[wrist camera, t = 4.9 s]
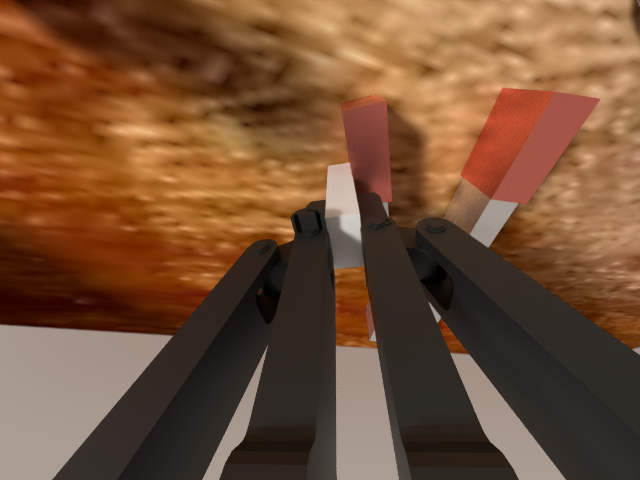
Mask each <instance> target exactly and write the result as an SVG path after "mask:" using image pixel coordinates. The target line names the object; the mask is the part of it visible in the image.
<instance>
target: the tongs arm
mask: <svg viewBox="0 0 640 480" xmlns="http://www.w3.org/2000/svg"><path fill="white" fill-rule="evenodd" d="M341 108H342V115H343V122H344V128H345V135H346V142H347V148H348V155H349V162H350V167H351V174H352V176H353V181H354V187H355V192H356V195H357V194H364V193H371V192H375V193H376V194H378V195H379V196H380V198H381V200H382V203H383V205H384V208H385V211H386V213H387V216H388V217H389V213H388V202H391V201H392V188H391V169H390V151H389V133H388V114H387V100H385V99H383V98H381V97H379V96H377V95H372V96H368V97H364V98H360V99H356V100H352V101H348V102H344V103H341Z"/></svg>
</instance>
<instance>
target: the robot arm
mask: <svg viewBox="0 0 640 480" xmlns="http://www.w3.org/2000/svg"><path fill="white" fill-rule="evenodd" d="M290 218H291V221H292V225H293V229H294V232H295V237H294V240H293V241H291V242H289V243H286V244H283V245H280V246H278V245H277V242H276V241H274V240H271V239H264V240H259V241H257V242H255V243H253V244H252V245H250V246H249V247H248V248H247V249H246V251H245V252H244V253H243V254H242V255H241V256H240V258H239V259H238V260H237V261H236V262H235V264H234V265H233V266H232V267H231V268H230V269H229V271H228V272H227V273H226V274H225V275H224V277H223V278H222V279H221V280H220V281H219V283H218V284H217V285H216V286H215V287H214V288H213V290H212V291H211V292H210V293H209V294H208V296H207V297H206V298H205V299H204V300H203V301H202V303H201V304H200V305H199V306H198V307H197V309H196V310H195V311H194V312H193V313H192V315H191V316H190V317H189V318H188V319H187V320H186V322H185V323H184V324H183V325H182V326H181V328H180V329H179V330H178V331H177V332H176V334H175V335H174V336H173V337H172V338H171V339H170V341H169V342H168V343H167V344H166V345H165V347H164V348H163V349H162V350H161V351H160V353H159V354H158V355H157V356H156V357H155V358H154V360H153V361H152V362H151V363H150V364H149V366H148V367H147V368H146V369H145V370H144V372H143V373H142V374H141V375H140V376H139V378H138V379H137V380H136V381H135V382H134V383H133V384H132V386H131V387H130V388H129V389H128V391H127V392H126V393H125V394H124V395H123V396H122V398H121V399H120V400H119V401H118V402H117V403H116V405H115V406H114V407H113V408H112V410H111V411H110V412H109V413H108V414H107V415H106V417H105V418H104V419H103V420H102V421H101V422H100V424H99V425H98V426H97V427H96V428H95V430H94V431H93V432H92V433H91V434H90V436H89V437H88V438H87V439H86V440H85V441H84V443H83V444H82V445H81V446H80V447H79V449H78V450H77V451H76V452H75V453H74V454H73V456H72V457H71V458H70V459H69V461H68V462H67V463H66V464H65V465H64V466H63V468H62V469H61V470H60V471H59V472H58V473H57V475H56V476H55V477H54V478H53V479H52V480H202V479H203V477H204V475H205V473H206V470H207V469H208V467H209V465H210V462H211V460H212V458H213V456H214V454H215V452H216V450H217V448H218V446H219V444H220V442H221V440H222V438H223V436H224V434H225V432H226V430H227V427H228V426H229V423H230V421H231V419H232V417H233V415H234V413H235V411H236V409H237V407H238V405H239V403H240V401H241V399H242V397H243V395H244V393H245V391H246V388H247V386H248V384H249V382H250V380H251V378H252V376H253V374H254V372H255V370H256V368H257V366H258V364H259V362H260V360H261V358H262V356H263V354H264V351H265V349H266V347H267V345H268V348H267V352H266V356H265V360H264V364H263V368H262V373H261V377H260V381H259V385H258V389H257V393H256V397H255V401H254V406H253V409H252V414H251V418H250V422H249V426H248V429H247V432H246V435H245V437H244V440H243V441H242V442H241V443H240V444H239V445H238V446H237V447H236V448H235V449H234V450H233V451H232V452H231V454H230V456H229V457H228V459H227V461H226V463H225V465H224V468H223V471H222V474H221V477H220V479H219V480H337V475H336V327H335V273H334V268H335V269H340V268H350V267H360V266H365V276H366V286H367V287H368V293H369V299H370V305H371V311H372V318H373V324H374V330H375V336H376V342H377V348H378V354H379V360H380V366H381V372H382V378H383V384H384V390H385V396H386V402H387V409H388V415H389V420H390V426H391V433H392V438H393V445H394V451H395V457H396V463H397V469H398V476H399V480H519V479H518V477H517V476H516V474H515V472H514V470H513V468H512V466H511V465H510V464H509V462H508V460H507V459H506V458H505V456H504V455H503V453H502V452H501V451H500V450H499V449H497V448H496V447H495V446H494V445H493V444H492V443H491V442H490V441H489V440H488V438H487V437H486V435H485V433H484V431H483V429H482V427H481V425H480V423H479V420H478V418H477V416H476V413H475V411H474V409H473V406H472V404H471V401H470V399H469V397H468V394H467V392H466V390H465V387H464V385H463V383H462V380H461V378H460V376H459V373H458V371H457V368H456V366H455V364H454V361H453V359H452V356H451V354H450V352H449V349H448V347H447V345H446V342H445V340H444V338H443V335H442V333H441V330H440V328H439V326H438V323H437V321H436V319H435V316H434V314H433V312H432V309H431V307H430V304H431V305H432V306H433V308H434V309H435V310H436V311H437V313H438V314H439V315H440V317H441V318H442V319H443V321H444V322H445V323H446V324H447V326H448V327H449V328H450V330H451V331H452V332H453V334H454V335H455V336H456V337H457V339H458V340H459V341H460V343H461V344H462V345H463V346H464V348H465V349H466V350H467V352H468V353H469V354H470V356H471V357H472V358H473V359H474V361H475V362H476V363H477V365H478V366H479V367H480V368H481V370H482V371H483V372H484V374H485V375H486V376H487V378H488V379H489V380H490V381H491V383H492V384H493V385H494V387H495V388H496V389H497V390H498V392H499V393H500V394H501V396H502V397H503V398H504V400H505V401H506V402H507V403H508V405H509V406H510V407H511V409H512V410H513V411H514V413H515V414H516V415H517V416H518V418H519V419H520V420H521V422H522V423H523V424H524V426H525V427H526V428H527V429H528V431H529V432H530V433H531V435H532V436H533V437H534V438H535V440H536V441H537V442H538V444H539V445H540V446H541V448H542V449H543V450H544V451H545V453H546V454H547V455H548V456H549V458H550V459H551V461H552V462H553V463H554V464H555V466H556V467H557V468H558V470H559V471H560V472H561V473H562V475H563V476H564V477H565V479H566V480H640V355H639V354H637V353H636V352H635V351H633V350H632V349H630V348H629V347H628V346H626V345H625V344H623V343H622V342H620V341H619V340H618V339H616V338H615V337H613V336H612V335H611V334H609V333H608V332H606V331H605V330H604V329H602V328H601V327H599V326H598V325H597V324H595V323H594V322H592V321H591V320H589V319H588V318H587V317H585V316H584V315H582V314H581V313H580V312H578V311H577V310H575V309H574V308H573V307H571V306H570V305H568V304H567V303H565V302H564V301H563V300H561V299H560V298H558V297H557V296H556V295H554V294H553V293H551V292H550V291H549V290H547V289H546V288H544V287H543V286H542V285H540V284H539V283H537V282H536V281H534V280H533V279H532V278H530V277H529V276H527V275H526V274H525V273H523V272H522V271H520V270H519V269H518V268H516V267H515V266H513V265H512V264H511V263H509V262H508V261H506V260H505V259H503V258H502V257H501V256H499V255H498V254H496V253H495V252H494V251H492V250H491V249H489V248H488V247H487V246H485V245H484V244H482V243H481V242H479V241H478V240H477V239H475V238H474V237H472V236H471V235H470V234H468V233H467V232H465V231H464V230H463V229H461V228H460V227H458V226H457V225H456V224H454V223H453V222H451V221H449V220H446V219H442V218H427V219H424V220H421V221H419V222H418V223H417V225H416V229H415V228H403V227H399V226H396V224H395V222H394V221H393V219H391V218H389V217H388V216H387V213H386V211H385V208H384V205H383V203H382V200H381V198H380V196H379V195H378V194H376V193H375V192H371V193H364V194H357V195H356V192H355V187H354V181H353V176H352V174H351V167H350V162H349V163H343V164H337V165H331V166H328V175H327V193H326V200H320V201H313V202H310V203H309V204H308V205H307V206H306V208H304V209H301V210H298V211H296V212H295V213H293V214H292V216H291V217H290ZM260 288H261V290H260ZM259 290H260V291H259ZM258 292H259V293H258ZM428 301H429V302H430V304H429V302H428ZM268 343H269V344H268Z"/></svg>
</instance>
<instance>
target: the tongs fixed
mask: <svg viewBox="0 0 640 480" xmlns="http://www.w3.org/2000/svg"><path fill="white" fill-rule="evenodd" d="M599 100H600V99H598V98H592V97H585V96H579V95H572V94H566V93H559V92H550V91H536V90H522V89H509V88H503V89H502V91H501V93H500V95H499V97H498V99H497V101H496V103H495V105H494V107H493V109H492V112H491V114H490V116H489V118H488V120H487V122H486V124H485V126H484V128H483V130H482V132H481V134H480V136H479V138H478V141H477V143H476V145H475V147H474V149H473V151H472V153H471V155H470V157H469V159H468V161H467V163H466V165H465V167H464V170H463V172H462V174H461V176H462V177H463V178H462V180H461V182H460V184H459V186H458V188H457V190H456V192H455V194H454V196H453V198H452V200H451V202H450V204H449V206H448V208H447V211H446V213H445V215H444V217H443V219H446V220H449V221H451V222H453V223H454V224H456V225H457V226H458V227H460V228H461V229H463V230H464V231H465V232H467V233H468V234H470V235H471V236H472V237H474V238H475V239H477V240H478V241H479V242H481V243H482V244H484V245H485V246H487V247H489V246H490V244H491V243H492V242H493V240H494V239H495V237H496V236H497V234H498V233H499V231H500V230H501V228H502V227H503V225H504V224H505V222H506V221H507V219H508V218H509V216H510V215H511V213H512V212H513V210H514V209H515V208H516V206H517V205H518V203H520V204H527V203H528V202H529V200H530V199H531V197H532V196H533V195H534V193H535V192H536V190H537V189H538V187H539V186H540V185H541V183H542V182H543V180H544V179H545V177H546V176H547V175H548V173H549V172H550V170H551V169H552V167H553V166H554V165H555V163H556V162H557V160H558V159H559V157H560V156H561V155H562V153H563V152H564V150H565V149H566V148H567V146H568V145H569V143H570V142H571V140H572V139H573V138H574V136H575V135H576V133H577V132H578V130H579V129H580V128H581V126H582V125H583V123H584V122H585V120H586V119H587V118H588V116H589V115H590V113H591V112H592V110H593V109H594V108H595V106H596V105H597V103H598V102H599ZM428 302H429V301H428ZM429 304H430V302H429ZM430 307H431V309H432V312H433V314H434V316H435V319H436V321H437V323H438V321H439V320H440V318H441V317H440V315H439V314H438V313H437V311H436V310H435V309H434V308H433V306H432V305H431V304H430ZM366 316H367V323H368V331H369V339H370V341H376V336H375V330H374V324H373V318H372V311H371V305H370V299H369V302H368V305H367V307H366Z"/></svg>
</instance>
